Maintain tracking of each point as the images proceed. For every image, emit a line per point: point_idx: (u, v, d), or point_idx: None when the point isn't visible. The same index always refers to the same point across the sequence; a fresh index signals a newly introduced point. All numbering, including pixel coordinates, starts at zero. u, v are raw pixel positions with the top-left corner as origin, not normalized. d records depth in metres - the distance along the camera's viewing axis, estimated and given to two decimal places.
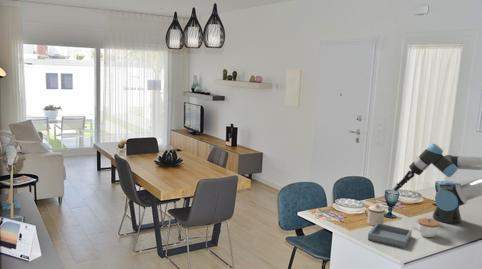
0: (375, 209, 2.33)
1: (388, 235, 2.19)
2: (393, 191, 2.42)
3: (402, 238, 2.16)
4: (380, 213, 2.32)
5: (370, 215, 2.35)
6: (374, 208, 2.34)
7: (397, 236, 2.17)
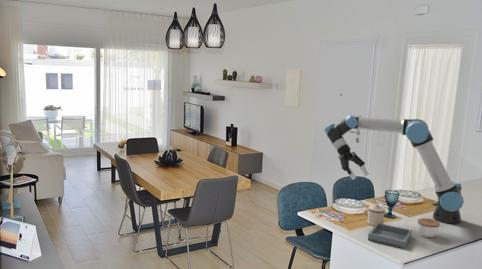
0: (375, 209, 2.33)
1: (388, 235, 2.19)
2: (352, 175, 2.39)
3: (402, 238, 2.16)
4: (380, 213, 2.32)
5: (370, 215, 2.35)
6: (374, 208, 2.34)
7: (397, 236, 2.17)
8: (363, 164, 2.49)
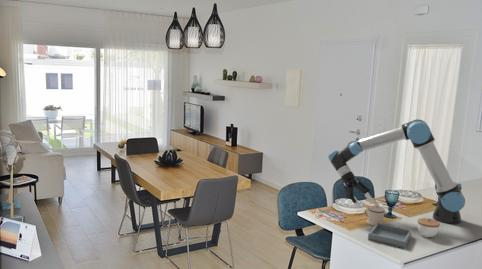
0: (375, 209, 2.33)
1: (388, 235, 2.19)
2: (356, 204, 2.37)
3: (402, 238, 2.16)
4: (380, 213, 2.32)
5: (370, 215, 2.35)
6: (374, 208, 2.34)
7: (397, 236, 2.17)
8: (368, 191, 2.47)
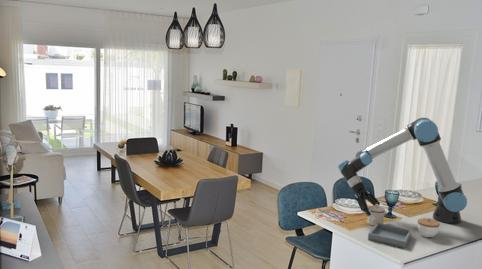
0: (375, 209, 2.33)
1: (388, 235, 2.19)
2: (371, 217, 2.33)
3: (402, 238, 2.16)
4: (380, 213, 2.32)
5: None
6: (374, 208, 2.34)
7: (397, 236, 2.17)
8: None
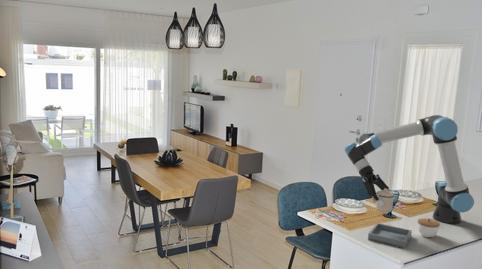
0: (384, 194, 2.19)
1: (388, 235, 2.19)
2: (379, 202, 2.19)
3: (402, 238, 2.16)
4: (389, 198, 2.18)
5: None
6: (383, 193, 2.20)
7: (397, 236, 2.17)
8: None
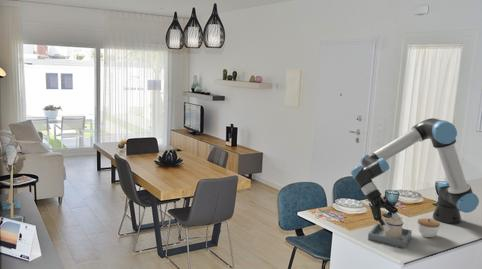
0: (392, 222, 2.12)
1: None
2: (385, 227, 2.11)
3: (402, 238, 2.16)
4: (398, 226, 2.11)
5: None
6: (391, 221, 2.13)
7: None
8: (396, 211, 2.21)
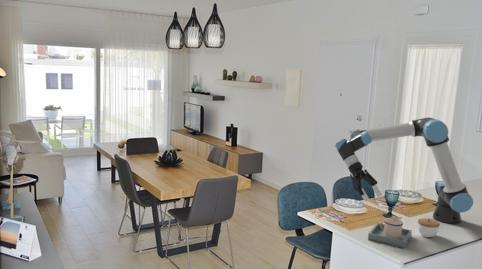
0: (392, 222, 2.12)
1: None
2: (364, 197, 2.21)
3: (402, 238, 2.16)
4: (398, 226, 2.11)
5: (387, 228, 2.13)
6: (391, 221, 2.13)
7: None
8: (376, 183, 2.32)
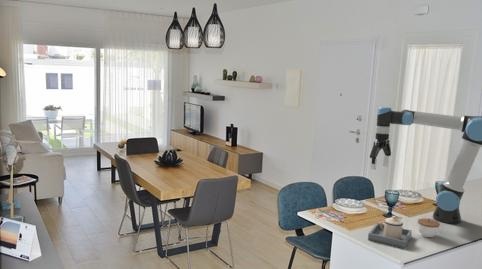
0: (392, 222, 2.12)
1: None
2: (373, 165, 2.46)
3: (402, 238, 2.16)
4: (398, 226, 2.11)
5: (387, 228, 2.13)
6: (391, 221, 2.13)
7: None
8: (389, 155, 2.53)
